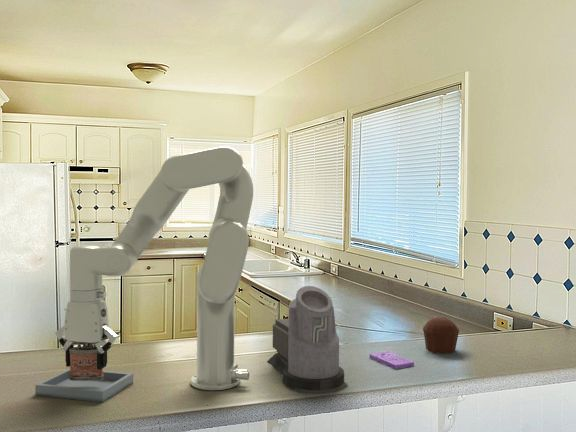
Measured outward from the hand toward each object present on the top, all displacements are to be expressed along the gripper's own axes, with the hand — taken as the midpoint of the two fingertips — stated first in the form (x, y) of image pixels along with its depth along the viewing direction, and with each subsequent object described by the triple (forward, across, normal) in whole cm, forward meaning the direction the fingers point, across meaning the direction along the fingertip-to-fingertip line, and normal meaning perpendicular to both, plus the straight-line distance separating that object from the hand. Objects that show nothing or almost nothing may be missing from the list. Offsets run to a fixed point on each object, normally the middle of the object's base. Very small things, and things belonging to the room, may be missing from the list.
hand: (86, 366), depth 139 cm
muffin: (+6, -86, -62) cm, 106 cm away
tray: (+6, 0, 0) cm, 6 cm away
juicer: (+6, -50, -26) cm, 56 cm away
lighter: (+3, 0, 0) cm, 3 cm away
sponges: (+6, -72, -44) cm, 85 cm away
